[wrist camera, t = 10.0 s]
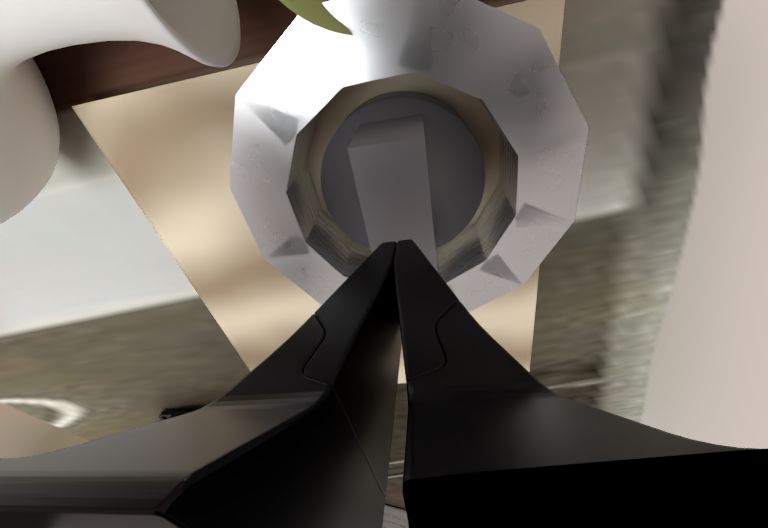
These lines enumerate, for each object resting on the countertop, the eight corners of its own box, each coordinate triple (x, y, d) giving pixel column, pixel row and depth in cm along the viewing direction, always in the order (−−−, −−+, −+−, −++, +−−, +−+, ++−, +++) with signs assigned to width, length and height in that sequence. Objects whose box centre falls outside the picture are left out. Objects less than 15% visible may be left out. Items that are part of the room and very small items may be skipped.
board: (524, 361, 23) (528, 376, 22) (269, 376, 26) (263, 390, 25) (553, -7, 11) (565, -9, 10) (94, 100, 15) (71, 106, 14)
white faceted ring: (539, 268, 17) (560, 309, 14) (314, 291, 19) (299, 331, 16) (570, -52, 10) (620, -75, 8) (210, 39, 12) (159, 44, 10)
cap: (479, 229, 16) (497, 290, 12) (348, 243, 17) (330, 303, 13) (478, 76, 12) (504, 99, 9) (310, 106, 13) (271, 138, 10)
